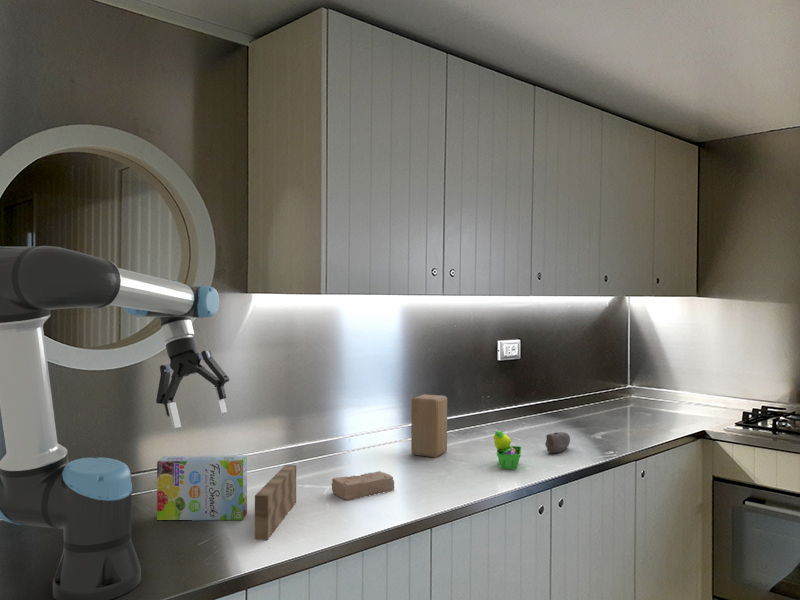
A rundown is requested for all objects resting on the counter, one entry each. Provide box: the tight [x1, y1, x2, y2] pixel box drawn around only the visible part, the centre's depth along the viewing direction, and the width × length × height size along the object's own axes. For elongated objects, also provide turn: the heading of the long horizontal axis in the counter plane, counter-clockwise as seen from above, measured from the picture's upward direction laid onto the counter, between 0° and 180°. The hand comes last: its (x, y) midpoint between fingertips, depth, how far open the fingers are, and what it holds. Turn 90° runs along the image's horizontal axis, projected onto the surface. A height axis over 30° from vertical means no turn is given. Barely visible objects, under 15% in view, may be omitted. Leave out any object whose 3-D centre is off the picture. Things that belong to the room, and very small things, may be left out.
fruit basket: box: [493, 430, 522, 470], centre depth 207 cm, size 11×9×11 cm
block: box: [410, 393, 448, 458], centre depth 222 cm, size 10×10×20 cm
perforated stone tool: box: [544, 431, 571, 454], centre depth 226 cm, size 15×5×7 cm, turn 136°
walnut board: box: [254, 464, 297, 541], centre depth 156 cm, size 26×3×10 cm, turn 175°
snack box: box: [156, 454, 248, 521], centre depth 157 cm, size 21×6×15 cm, turn 92°
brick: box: [331, 470, 395, 501], centre depth 178 cm, size 16×8×5 cm, turn 125°
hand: (199, 420), depth 159 cm, fingers open, 13 cm apart
